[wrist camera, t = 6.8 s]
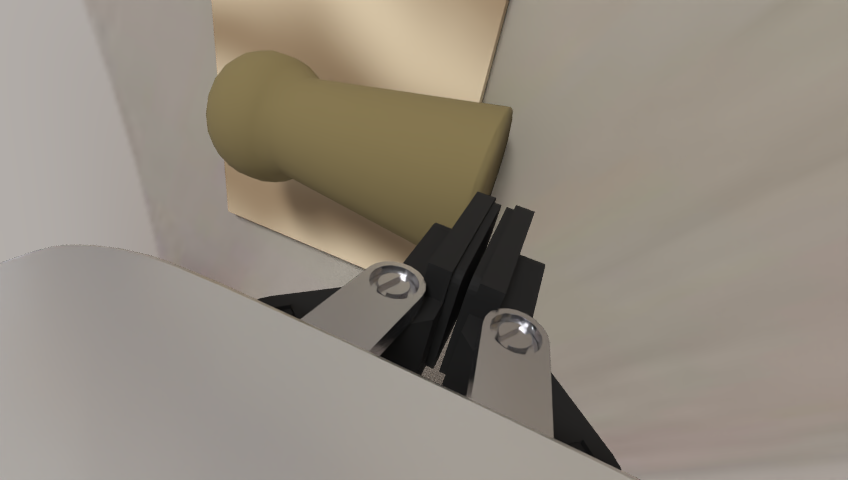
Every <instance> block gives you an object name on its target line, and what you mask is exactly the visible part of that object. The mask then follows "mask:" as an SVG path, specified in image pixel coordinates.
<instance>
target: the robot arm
mask: <svg viewBox="0 0 848 480" xmlns="http://www.w3.org/2000/svg"><path fill="white" fill-rule="evenodd" d="M495 200H496V198H495V197H492V196H489V195H486V194H484V193H481V192H477V193H476V194H475V196H474V197H473V199H472V200H471V202H470V203H469V204H468V206H467V207H466V209H465V210H464V212H463V213H462V215H461V216H460V217H459V219H458V220H457V222H456V223H455V225H454V226H453V228H449V227H446V226H444V225H441V224H439V223H434V224H433V225H432V227H431V228H430V229H429V230H428V232H427V233H426V234H425V236H424V237H423V238H422V239H421V241H420V242H419V243H418V244H417V246H416V247H415V248H414V250H413V251H412V252H411V253H410V255H409V256H408V257H407V258H406V260H405V261H404V262H403V263H400V262H394V261H383V262H379V263H375V264H373V265H371V266H369V267H368V268H367V269H365V270H364V271H363V272H361V273H360V274H359V275H357V276H356V277H355V278H354V279H352V280H351V281H350V282H348V283H347V284H346V285H344V286H343V287H340V288H332V289H324V290H316V291H308V292H300V293H292V294H284V295H276V296H269V297H265V298H260V299H258V300H257V299H255V298H252V297H250V296H248V295H246V294H244V293H241V292H239V291H237V290H235V289H233V288H230V287H228V286H226V285H224V284H222V283H220V282H217V281H215V280H212V279H210V278H208V277H205V276H203V275H200V274H198V273H196V272H193V271H191V270H188V269H186V268H184V267H181V266H179V265H176V264H174V263H172V262H169V261H166V260H163V259H160V258H157V257H153V256H150V255H147V254H143V253H138V252H134V251H129V250H125V249H120V248H112V247H103V246H96V245H60V246H53V247H48V248H44V249H40V250H36V251H33V252H30V253H27V254H24V255H21V256H18V257H15V258H12V259H9V260H6V261H3V262H1V263H0V480H640V479H638V478H637V477H634V476H632V475H629V474H627V473H625V472H623V471H621V467H620V466H619V464H618V463H617V461H616V459H615V458H614V456H613V454H612V453H611V452H610V450H609V449H608V448H607V446H606V445H605V444H604V442H603V441H602V440H601V438H600V437H599V436H598V434H597V433H596V432H595V430H594V429H593V428H592V426H591V425H590V424H589V422H588V421H587V420H586V418H585V417H584V416H583V414H582V413H581V412H580V410H579V409H578V408H577V406H576V405H575V404H574V402H573V401H572V400H571V398H570V397H569V396H568V394H567V393H566V392H565V390H564V389H563V388H562V386H561V385H560V384H559V382H558V381H557V380H556V378H555V377H554V376H553V374H552V373H551V360H550V342H549V338H548V335H547V333H546V331H545V330H544V328H543V327H542V326H541V325H540V324H539V323H538V322H537V321H536V320H535V319H533V314H534V310H535V306H536V302H537V297H538V293H539V289H540V285H541V281H542V277H543V273H544V269H545V264H543V263H540V262H538V261H535V260H532V259H530V258H527V257H525V256H522V255H520V252H521V249H522V246H523V243H524V241H525V238H526V235H527V232H528V229H529V227H530V224H531V221H532V218H533V215H534V211H531V210H528V209H525V208H523V207H520V206H517V205H516V206H515V209H514V210H513V209H510V208H508V207H507V208H506V210H505V212H504V214H503V216H502V218H501V220H500V222H499V224H498V226H497V228H496V230H495V232H494V234H493V236H492V238H491V240H490V242H489V239H490V237H491V234H492V231H493V228H494V225H495V222H496V219H497V217H498V214H499V211H500V208H501V205H499V204H496V203H495ZM488 242H489V244H488ZM487 245H488V246H487ZM456 320H457V321H456ZM455 322H456V324H455ZM454 324H455V327H454V330H453V333H452V336H451V339H450V341H449V344H448V347H447V350H446V353H445V356H444V359H443V362H442V365H441V368H440V371H439V372H441V373H444V374H446V375H445V378H444V381H443V384H442V385H443V386H442V385H440V384H438V383H436V382H434V381H431V380H429V379H427V378H425V377H423V376H421V374H422V372H423V370H424V368H425V367H426V366H428V367H431V368H434V366H435V364H436V362H437V360H438V358H439V356H440V354H441V352H442V349H443V347H444V345H445V343H446V341H447V339H448V337H449V335H450V333H451V331H452V329H453V326H454Z"/></svg>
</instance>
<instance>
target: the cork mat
mask: <svg viewBox="0 0 848 480" xmlns="http://www.w3.org/2000/svg"><path fill="white" fill-rule="evenodd" d="M508 3H509V0H212V12H213V25H214V38H215V50H216V63H217V75H218V74H219V73H220V72H221V70H222V69H223V68H224V66H225V65H226V64H228V63H229V62H231V61H232V60H234V59H235V58H237V57H239V56H241V55H243V54H245V53H247V52H253V51H260V50H273V51H276V52H279V53H283V54H286V55H288V56H291V57H294V58H296V59H298V60H300V61H301V62H303V63H305V64H306V65H308V66H309V67H310V68H311V69H312V70H313V71H314V73H315V74H316V75H317V76H318V77H319V79H322V80H329V81H336V82H343V83H349V84H356V85H363V86H370V87H377V88H383V89H390V90H397V91H404V92H411V93H418V94H424V95H431V96H438V97H445V98H452V99H459V100H465V101H472V102H479V103H482V99H483V96H484V92H485V88H486V85H487V81H488V77H489V73H490V70H491V66H492V62H493V59H494V55H495V51H496V48H497V44H498V40H499V37H500V33H501V29H502V25H503V22H504V18H505V14H506V11H507V7H508ZM224 163H225V176H226V188H227V201H228V211H229V212H231V213H234V214H236V215H238V216H241V217H243V218H245V219H248V220H250V221H253V222H255V223H257V224H260V225H262V226H264V227H267V228H269V229H272V230H274V231H276V232H279V233H281V234H284V235H286V236H288V237H291V238H293V239H295V240H298V241H300V242H303V243H305V244H307V245H310V246H312V247H314V248H317V249H319V250H322V251H324V252H326V253H329V254H331V255H333V256H336V257H338V258H341V259H343V260H345V261H348V262H350V263H352V264H355V265H357V266H360V267H362V268H364V269H367V268H368V267H369V266H371V265H373V264H375V263H379V262H383V261H394V262H400V263H403V262H404V261H405V260H406V258H407V257H408V256H409V255H410V253H411V252H412V251H413V250H414V248H415V247H416V246H417V245H415V244H413V243H411V242H409V241H407V240H406V239H404V238H402V237H400V236H398V235H396V234H394V233H392V232H391V231H389V230H387V229H385V228H383V227H381V226H379V225H378V224H376V223H374V222H372V221H370V220H368V219H366V218H365V217H363V216H361V215H359V214H357V213H355V212H353V211H351V210H350V209H348V208H346V207H344V206H342V205H340V204H338V203H337V202H335V201H333V200H331V199H329V198H327V197H325V196H324V195H322V194H320V193H318V192H316V191H314V190H312V189H310V188H309V187H307V186H305V185H303V184H301V183H299V182H297V181H296V180H294V179H291V180H288V181H284V182H264V181H260V180H257V179H254V178H251V177H249V176H247V175H244V174H242V173H239V172H238V171H236V170H235V169H234V168H232V167H231V166H229V165H228V164H227V162H226V161H225V160H224Z"/></svg>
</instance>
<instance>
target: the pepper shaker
mask: <svg viewBox="0 0 848 480" xmlns="http://www.w3.org/2000/svg"><path fill="white" fill-rule="evenodd" d="M512 113H513V110H512V108H511V107H506V106H500V105H493V104H486V103H479V102H472V101H465V100H459V99H452V98H445V97H438V96H431V95H424V94H418V93H411V92H404V91H397V90H390V89H383V88H377V87H370V86H363V85H356V84H349V83H343V82H336V81H329V80H322V79H319V77H318V76H317V75H316V74H315V73H314V71H313V70H312V69H311V68H310V67H309V66H308V65H306V64H305V63H303V62H301V61H300V60H298V59H296V58H294V57H291V56H288V55H286V54H283V53H279V52H276V51H273V50H260V51H253V52H247V53H245V54H243V55H241V56H239V57H237V58H235V59H234V60H232V61H231V62H229V63H228V64H226V65H225V66H224V68H223V69H222V70H221V72H220V73H219V74H218V75H217V77H216V78H215V80H214V83H213V85H212V88H211V90H210V93H209V96H208V103H207V110H206V118H207V127H208V133H209V135H210V138H211V140H212V142H213V145H214V147H215V148H216V150H217V152H218V153H219V155H220V156H221V157H222V158H223V159H224V160H225V161H226V162H227V164H228V165H229V166H231V167H232V168H234V169H235V170H236V171H238V172H239V173H242V174H244V175H247V176H249V177H251V178H254V179H257V180H260V181H264V182H284V181H288V180H291V179H294V180H296V181H297V182H299V183H301V184H303V185H305V186H307V187H309V188H310V189H312V190H314V191H316V192H318V193H320V194H322V195H324V196H325V197H327V198H329V199H331V200H333V201H335V202H337V203H338V204H340V205H342V206H344V207H346V208H348V209H350V210H351V211H353V212H355V213H357V214H359V215H361V216H363V217H365V218H366V219H368V220H370V221H372V222H374V223H376V224H378V225H379V226H381V227H383V228H385V229H387V230H389V231H391V232H392V233H394V234H396V235H398V236H400V237H402V238H404V239H406V240H407V241H409V242H411V243H413V244H415V245H417V244H418V243H419V242H420V241H421V239H422V238H423V237H424V236H425V234H426V233H427V232H428V230H429V229H430V228H431V227H432V225H433V224H434V223H439V224H441V225H444V226H446V227H449V228H453V226H454V225H455V223H456V222H457V220H458V219H459V217H460V216H461V215H462V213H463V212H464V210H465V209H466V207H467V206H468V204H469V203H470V202H471V200H472V199H473V197H474V196H475V194H476V193H477V192H481V193H484V194H486V195H489V196H490V195H491V192H492V189H493V186H494V183H495V180H496V178H497V175H498V171H499V168H500V165H501V162H502V159H503V155H504V152H505V148H506V144H507V141H508V137H509V132H510V127H511V122H512Z"/></svg>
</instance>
